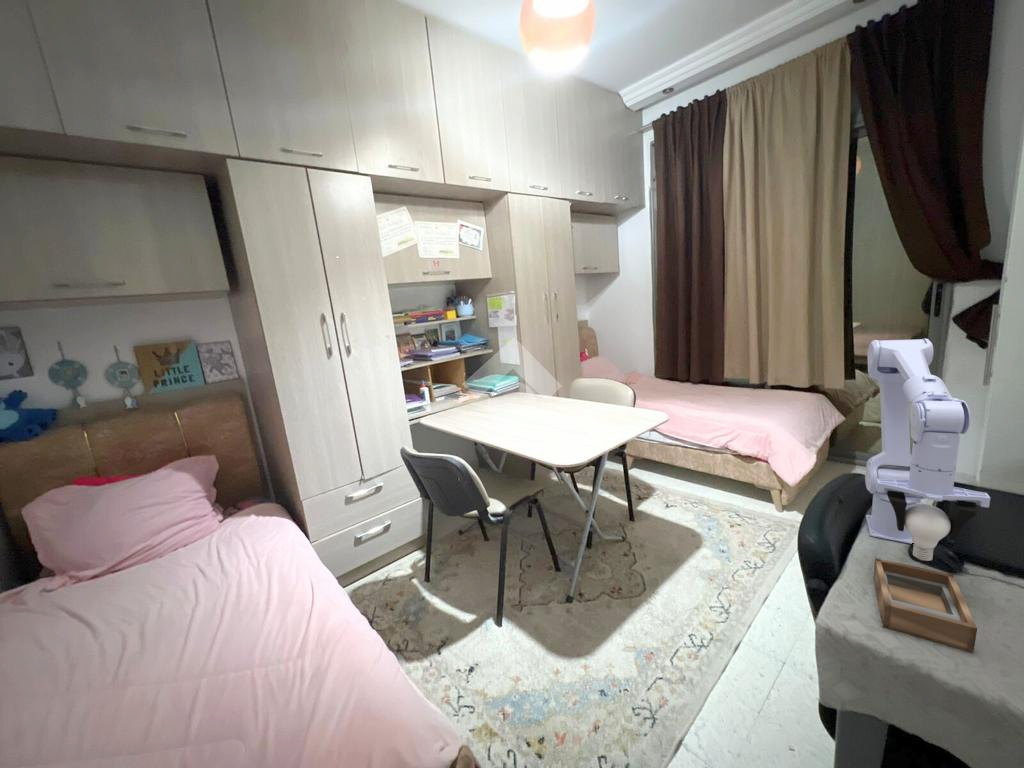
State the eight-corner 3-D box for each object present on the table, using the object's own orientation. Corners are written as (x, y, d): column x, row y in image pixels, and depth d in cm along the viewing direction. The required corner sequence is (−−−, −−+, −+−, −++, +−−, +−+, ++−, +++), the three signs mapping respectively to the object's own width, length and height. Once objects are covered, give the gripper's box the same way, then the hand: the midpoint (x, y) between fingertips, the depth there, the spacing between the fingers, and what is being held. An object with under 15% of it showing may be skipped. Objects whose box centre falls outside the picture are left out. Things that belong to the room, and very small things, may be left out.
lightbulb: (956, 571, 75) (963, 514, 73) (913, 568, 76) (919, 513, 74) (930, 550, 81) (935, 498, 79) (891, 548, 82) (896, 497, 80)
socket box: (873, 578, 82) (875, 557, 81) (949, 596, 76) (952, 574, 75) (882, 627, 71) (885, 604, 70) (973, 653, 65) (977, 628, 64)
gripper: (882, 467, 76) (876, 534, 79) (1000, 481, 67) (989, 555, 70) (877, 453, 81) (871, 516, 84) (986, 464, 73) (975, 533, 76)
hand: (924, 532), depth 78 cm, fingers closed on lightbulb, 6 cm apart
